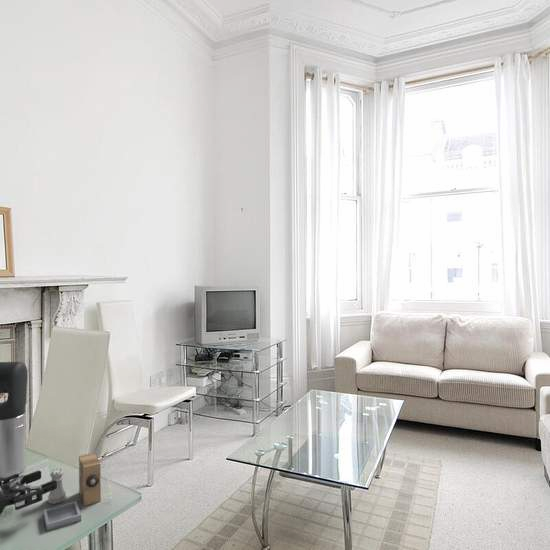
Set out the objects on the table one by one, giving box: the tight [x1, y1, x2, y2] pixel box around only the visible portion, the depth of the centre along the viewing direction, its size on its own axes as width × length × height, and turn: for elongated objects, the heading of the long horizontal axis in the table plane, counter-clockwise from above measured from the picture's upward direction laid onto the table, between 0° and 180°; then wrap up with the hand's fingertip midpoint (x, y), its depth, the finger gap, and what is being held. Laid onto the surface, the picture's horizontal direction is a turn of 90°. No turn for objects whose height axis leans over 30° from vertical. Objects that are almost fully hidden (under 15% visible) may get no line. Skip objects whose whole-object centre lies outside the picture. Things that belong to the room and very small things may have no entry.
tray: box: [43, 500, 82, 532], centre depth 105 cm, size 7×7×2 cm
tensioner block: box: [78, 452, 102, 507], centre depth 114 cm, size 9×4×10 cm, turn 33°
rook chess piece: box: [47, 467, 67, 505], centre depth 113 cm, size 4×4×8 cm
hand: (48, 479), depth 111 cm, fingers open, 8 cm apart
